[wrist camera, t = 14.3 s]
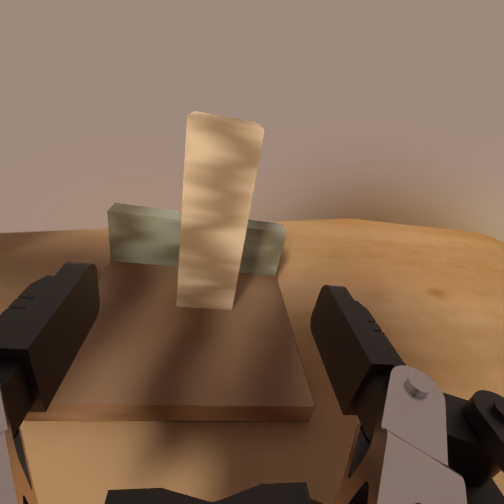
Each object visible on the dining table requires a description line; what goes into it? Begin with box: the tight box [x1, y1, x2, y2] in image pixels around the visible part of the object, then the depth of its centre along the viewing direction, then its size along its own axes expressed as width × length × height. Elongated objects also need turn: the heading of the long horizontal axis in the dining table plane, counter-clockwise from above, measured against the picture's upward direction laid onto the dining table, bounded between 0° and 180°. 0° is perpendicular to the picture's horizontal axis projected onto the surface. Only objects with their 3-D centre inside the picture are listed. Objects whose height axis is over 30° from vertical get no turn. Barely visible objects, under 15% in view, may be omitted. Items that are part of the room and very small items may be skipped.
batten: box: [176, 111, 264, 310], centre depth 22 cm, size 4×4×14 cm
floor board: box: [24, 203, 315, 421], centre depth 22 cm, size 16×16×6 cm
